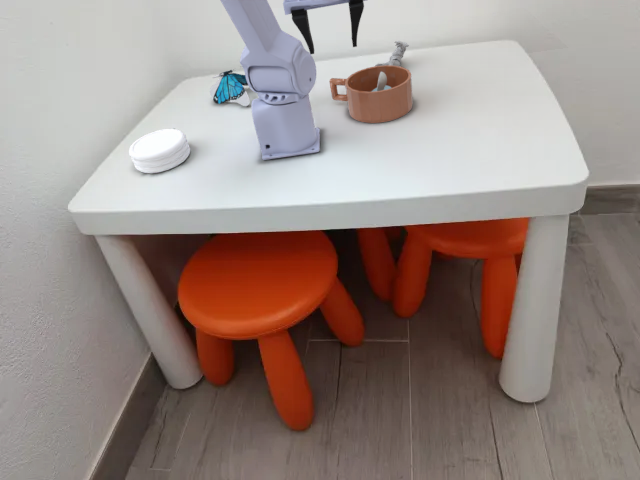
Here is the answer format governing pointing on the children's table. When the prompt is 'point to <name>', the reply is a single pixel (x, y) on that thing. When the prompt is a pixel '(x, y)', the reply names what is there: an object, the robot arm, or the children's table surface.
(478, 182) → the children's table surface
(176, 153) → the white round disc
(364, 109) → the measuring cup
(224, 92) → the decorative butterfly
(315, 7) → the robot arm
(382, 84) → the pacifier
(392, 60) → the soldier figure
